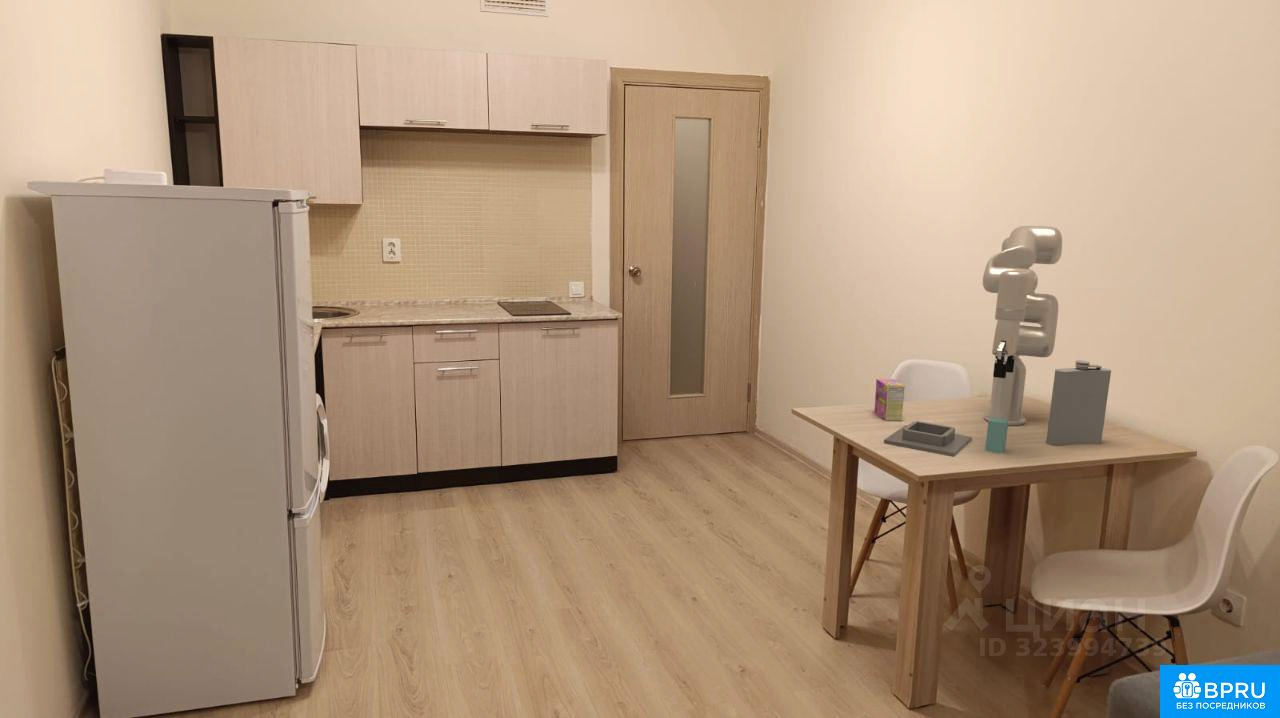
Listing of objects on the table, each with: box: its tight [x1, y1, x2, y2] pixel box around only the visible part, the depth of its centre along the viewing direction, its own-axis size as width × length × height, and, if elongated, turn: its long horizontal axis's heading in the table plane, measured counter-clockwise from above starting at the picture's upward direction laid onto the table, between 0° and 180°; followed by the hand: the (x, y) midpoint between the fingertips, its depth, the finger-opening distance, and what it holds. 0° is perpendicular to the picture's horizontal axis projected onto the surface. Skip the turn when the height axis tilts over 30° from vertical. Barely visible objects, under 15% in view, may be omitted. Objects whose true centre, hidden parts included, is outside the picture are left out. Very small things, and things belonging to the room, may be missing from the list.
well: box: [883, 420, 973, 457], centre depth 249 cm, size 20×20×4 cm
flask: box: [1045, 359, 1112, 447], centre depth 249 cm, size 17×5×25 cm, turn 101°
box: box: [874, 378, 905, 422], centre depth 275 cm, size 10×6×12 cm, turn 5°
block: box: [984, 417, 1009, 454], centre depth 242 cm, size 4×4×9 cm
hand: (1003, 374), depth 238 cm, fingers open, 9 cm apart
